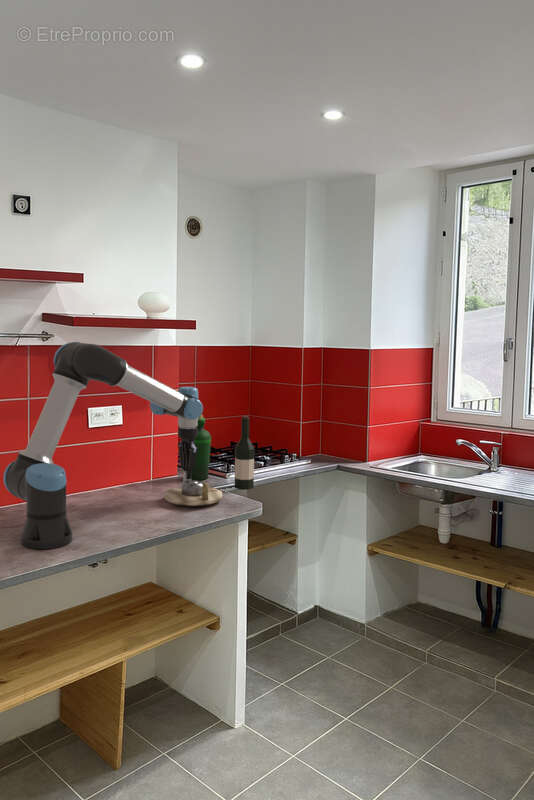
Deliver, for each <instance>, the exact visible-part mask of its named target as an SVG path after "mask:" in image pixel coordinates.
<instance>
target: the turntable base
mask: <svg viewBox="0 0 534 800" xmlns="http://www.w3.org/2000/svg"><path fill="white" fill-rule="evenodd" d="M212 504H214V503H212ZM212 504H207V505H179V504H175V505H176V506H180V507H185V508H200V507H201V508H202V507H207V506H210V505H212Z"/></svg>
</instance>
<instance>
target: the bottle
mask: <svg viewBox="0 0 534 800" xmlns="http://www.w3.org/2000/svg"><path fill="white" fill-rule="evenodd" d="M205 424H206V419H205V417H204V415H203V414H201V416H200V417H199V418H198V426H197V428H198V436H197V437H196V438H194V442H195V447H198V451H197V455H196V462H195V469H194V470H192V471H191V480H198V481H205V480H207V479H208V478H209V472H210V471H209V470H210V462H211V461H210V459H211V445H212V435H211V434H210V432H209V431H208V430H206V429H205Z"/></svg>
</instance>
